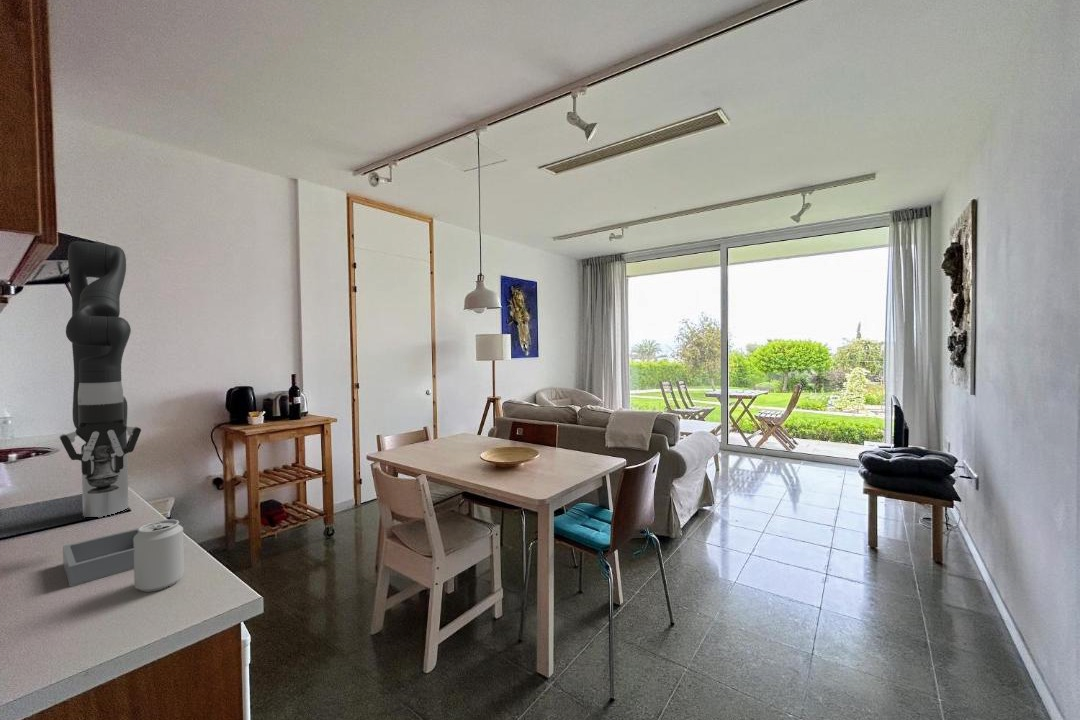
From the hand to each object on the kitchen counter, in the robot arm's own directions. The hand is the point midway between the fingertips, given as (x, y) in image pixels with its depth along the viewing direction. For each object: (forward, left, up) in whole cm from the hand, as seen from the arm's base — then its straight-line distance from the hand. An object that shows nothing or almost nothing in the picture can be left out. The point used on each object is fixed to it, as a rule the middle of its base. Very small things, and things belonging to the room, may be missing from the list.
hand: (102, 473), depth 103 cm
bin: (+12, 0, -17) cm, 21 cm away
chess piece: (0, 0, -4) cm, 4 cm away
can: (+31, +5, -18) cm, 36 cm away
